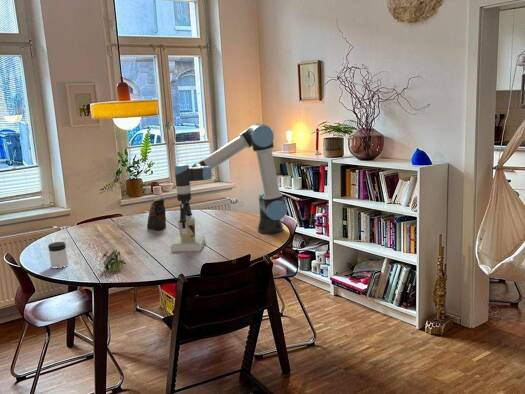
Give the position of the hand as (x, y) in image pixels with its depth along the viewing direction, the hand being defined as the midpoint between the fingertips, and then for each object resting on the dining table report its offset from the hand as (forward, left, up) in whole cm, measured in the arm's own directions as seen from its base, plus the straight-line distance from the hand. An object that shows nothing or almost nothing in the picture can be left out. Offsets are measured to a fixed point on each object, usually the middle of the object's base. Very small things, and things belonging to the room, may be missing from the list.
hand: (187, 230), depth 278 cm
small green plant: (+31, +32, -10) cm, 46 cm away
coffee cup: (0, 0, -5) cm, 5 cm away
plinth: (0, 0, -9) cm, 9 cm away
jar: (+62, +25, -9) cm, 68 cm away
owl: (+28, -43, -9) cm, 52 cm away
